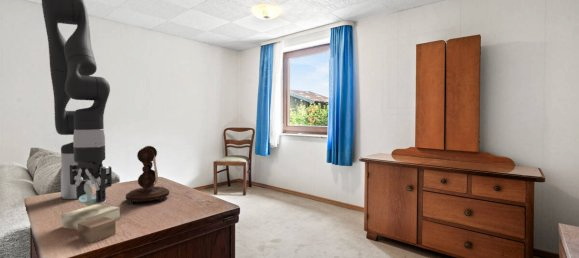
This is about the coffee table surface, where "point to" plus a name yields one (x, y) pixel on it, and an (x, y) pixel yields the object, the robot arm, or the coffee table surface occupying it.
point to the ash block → (89, 215)
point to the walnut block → (96, 229)
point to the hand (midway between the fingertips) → (91, 200)
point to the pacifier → (89, 196)
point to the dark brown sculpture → (147, 179)
